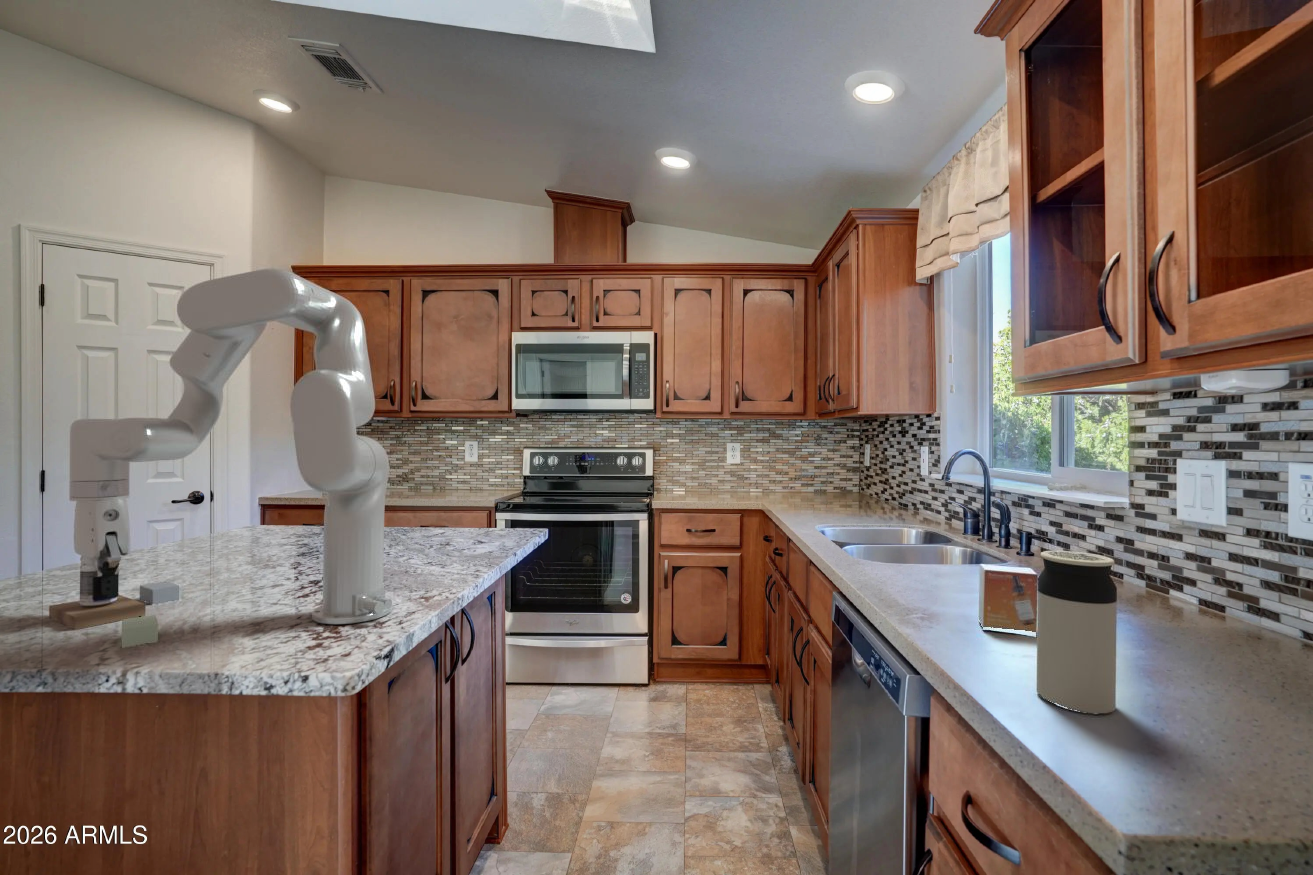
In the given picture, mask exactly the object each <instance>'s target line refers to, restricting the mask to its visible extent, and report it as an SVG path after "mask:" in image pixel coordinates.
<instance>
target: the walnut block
mask: <svg viewBox="0 0 1313 875" xmlns="http://www.w3.org/2000/svg"><path fill="white" fill-rule="evenodd" d="M146 604H147V603H145V602H142V601H138V600H135V599H133V598H130V597H127V596H124V595H121V594H119V593H118V597H117V600H116V601H114V602H110V603H107V604H101V605H93V606H83V605H80V600H75V601H70V602H64V603H57V604H52V605H49V607H48V618H49V619H51V620H53V621H55V622H58V623H60V624H62V625H64V626H66V627H68V628H70V629H71V630H81V629H85V628H89V627H90V628H91V627H96V626H100V625H105V623H106V624H110V623H109V622H111V623H116V622H122V620H124V619H130V618H137V617H139V616H141V617H144V616H143V615H145V616H146V607H147V606H146ZM95 625H96V626H95Z"/></svg>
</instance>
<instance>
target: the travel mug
mask: <svg viewBox="0 0 1313 875" xmlns="http://www.w3.org/2000/svg"><path fill="white" fill-rule="evenodd" d="M1040 557H1041V558H1042V560H1043V566H1044V567H1043V570H1042V571H1041V573H1040V574H1039V576H1038V591H1037V636H1036V693H1037V692H1038V693H1039V694H1040V695H1041V696H1042V697H1044V698H1045V699H1047V700H1049V701H1051V702H1053V703H1057V704H1059V705H1061V706H1064V707H1067V708H1068V709H1072V710H1077V711H1080V712H1086V713H1104V714H1109V713H1111V712H1114V711H1115V710H1116V701H1117V700H1116V694H1117V693H1116V692H1117V688H1116V687H1117V682H1116V681H1117V622H1118V621H1117V616H1118V614H1117V613H1118V612H1117V611H1118V608H1117V607H1118V604H1117V603H1118V602H1117V599H1118V587H1117V586H1116V583H1115V582H1114V580H1113V578H1112V577H1111V571H1112V567H1113V565H1114V564H1116V563H1115V560H1114V559H1113V558H1111V557H1108V556H1104V555H1101V554H1096V553H1091V552H1082V551H1072V550H1044V551H1042V552H1041V553H1040ZM1038 693H1037V694H1038ZM1039 694H1038V695H1039ZM1040 695H1039V696H1040ZM1041 696H1040V697H1041ZM1042 697H1041V698H1042ZM1044 698H1043V699H1044ZM1045 699H1044V700H1045ZM1047 700H1046V701H1047ZM1086 713H1085V714H1086Z"/></svg>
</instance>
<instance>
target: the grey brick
mask: <svg viewBox="0 0 1313 875" xmlns="http://www.w3.org/2000/svg"><path fill="white" fill-rule="evenodd" d="M141 600H142V601H141ZM175 600H177V601H180V585H179V584H175V583H172V582H170V581H166V580H165V581H159V582H153V583H147V584H141V585H139V601H141V602H143V601H146V602H148V603H147V604H149V603H150V604H149V605H151V604H156V605H159V604H158V603H161V604H165V603H164V602H167V603H169V602H168V601H172V602H176V601H175ZM146 602H145V603H146Z"/></svg>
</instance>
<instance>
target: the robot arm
mask: <svg viewBox="0 0 1313 875" xmlns="http://www.w3.org/2000/svg"><path fill="white" fill-rule="evenodd" d="M176 312H177V317H178V319H179V321H180V323H181V324H182V325H183V326H185V327H186V328H188V329H189V330H190V331H189V332H188V334H187V336H186V337H185V339H184V340H182V342H181V343H180V344H179V346H178V348H177V349H176V350H175V352H174V353H173V354H172V355H171V356H170V358H169V365H170V367H171V370H173V371H174V373H175V374H177V375H178V376H179V377H180V378H181V379H182V382H183V383H182V384H183V393H182V396H181V399H180V400H179V402H178V404H177V405H176V406H175V408H174V409H173V411H172V412H171V413H170V414H169V416H168V417H167V418H161V417H158V418H157V417H125V418H118V419H115V418H114V419H113V418H79V419H76V420H73V422H72V423H71V425H70V428H69V489H68V490H69V492H68V493H69V497H68V498H69V499H68V500H69V501H71V502H75V507H74V508H75V509H74V522H73V549H74V552H75V554H77V555H80V559H79V560H80V566H79V570H80V569H81V567H83V566H84V565H85V564H84V562H83V556H86V557H89V558H92V559H94V564H95V575H96V577H93V600H94V601H99V600H105V599H110V598H116V597H118V594H119V585H120V584H119V582H120V581H119V577H120V576H119V574H120V568H119V567H120V562H121V560H122V556H124V557H125V556H128V555H129V554H130V553H131V533H130V532H131V531H130V516H129V509H128V508H129V507H128V502H127V499H129V498H130V469H131V468H130V463H145V462H156V461H158V462H159V461H174V460H175V461H176V460H180V459H184V458H186V457H188V456H189V455H191V454H192V453H194V452H195V451H196V450H197V449H198V448H199V447H200V446H201V444H202V443H203V442H204V441H205V440H206V438H207V437H208V435H209V434H210V433H211V431H212V430H213V429H214V428H215V425H216V424H217V422H218V420H219V417H220V416H221V411H222V407H223V401H224V387H225V386H226V385H225V384H226V383H227V382H228V380H229V379H230V378H231V376H232V375H233V374H234V372H235V371H236V370H237V368H238V366H240V364H241V363H242V361H243V360H244V359H245V357H247V354H249V353H250V351H251V349H252V348H253V347H254V345H255V344H256V343H257V342H258V340H259V339H260V337H261V336H262V335H263V333H264V332H265V330H266V327H267V325H268V323H270V322H271V323H272V322H277V323H280V324H282V325H286V326H288V327H290V328H291V327H292V328H296V329H298V330H302V331H307V332H310V333H313V334H314V335H315V340H314V345H313V356H314V357H313V358H314V362H315V370H311V371H309V372H306V374H303V376H301V377H300V378H299V379H298V381H297V382H296V383H295V384H294V388H293V389H292V392H291V396H290V416H291V424H292V430H293V431H292V432H293V440H294V448H295V454H296V461H297V467H298V470H299V474H300V475H301V477H302V479H303V480H304V483H306V485H307V486H308V487H309V488H311V489H312V490H314V491H316V492H319V493H322V494H327V495H326V496H327V497H326V500H325V501H326V502H325V504H324V512H323V543H322V544H323V549H322V550H323V553H322V554H323V557H322V558H323V560H322V562H323V563H322V567H323V568H322V605H321V606H318V607H316V608H315V609H313V611H312V612H311V617H312V619H311V620H313V621H314V622H317V623H319V624H324V625H325V624H327V625H348V624H358V623H362V622H369V621H372V620H377V619H380V618H382V617H385V616H387V615H388V614H390V613H391V612H392V610H393V600H392V599H391V598H386V588H384V553H385V551H384V550H385V549H384V546H385V545H384V542H385V508H386V507H385V506H386V494H387V488H388V487H387V486H388V480H389V474H390V461H389V457H388V454H387V451H386V450H385V448H384V447H383V445H381V444H380V443H379V442H378V441H377V440H375V439H373V438H371V437H369V436H365V435H358V434H357V428H358V427H361V426H364V425H365V424H367V423H368V422H369V421H370V420H371V419H372V418H373V416H374V413H375V410H376V400H375V399H376V398H375V391H374V387H373V386H374V385H373V379H372V377H373V376H372V370H371V364H370V358H369V352H368V343H367V334H366V328H365V324H364V322H365V321H364V320H363V317H362V314H361V313H360V311H359V310H358V308H357V307H356V305H354V304H353V303H352V302H351V301H350V300H348V299H347V298H345V297H344V296H341V295H340V294H337V293H335V292H333V291H330V290H329V289H326V288H324V287H322V286H320V285H318V284H316V283H314V282H312V281H310V280H308V279H306V278H304V277H301V276H300V275H298V274H296V273H293V272H291V271H288V270H285V269H281V268H263V269H257V270H252V271H247V272H242V273H238V274H233V275H228V276H221V277H217V278H214V279H208V280H204V281H201V282H198V283H196V284H193V285H192V286H190V287H188V288H187V289H186V290H185V291H184V292H183V293H182V294H181V295H180V297H179V299H178V302H177V304H176ZM103 554H108V557H100V558H99V556H101V555H103ZM101 561H106V562H104V563H103V565H102V567H101Z"/></svg>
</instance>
